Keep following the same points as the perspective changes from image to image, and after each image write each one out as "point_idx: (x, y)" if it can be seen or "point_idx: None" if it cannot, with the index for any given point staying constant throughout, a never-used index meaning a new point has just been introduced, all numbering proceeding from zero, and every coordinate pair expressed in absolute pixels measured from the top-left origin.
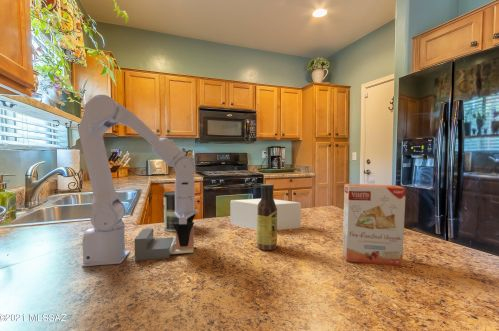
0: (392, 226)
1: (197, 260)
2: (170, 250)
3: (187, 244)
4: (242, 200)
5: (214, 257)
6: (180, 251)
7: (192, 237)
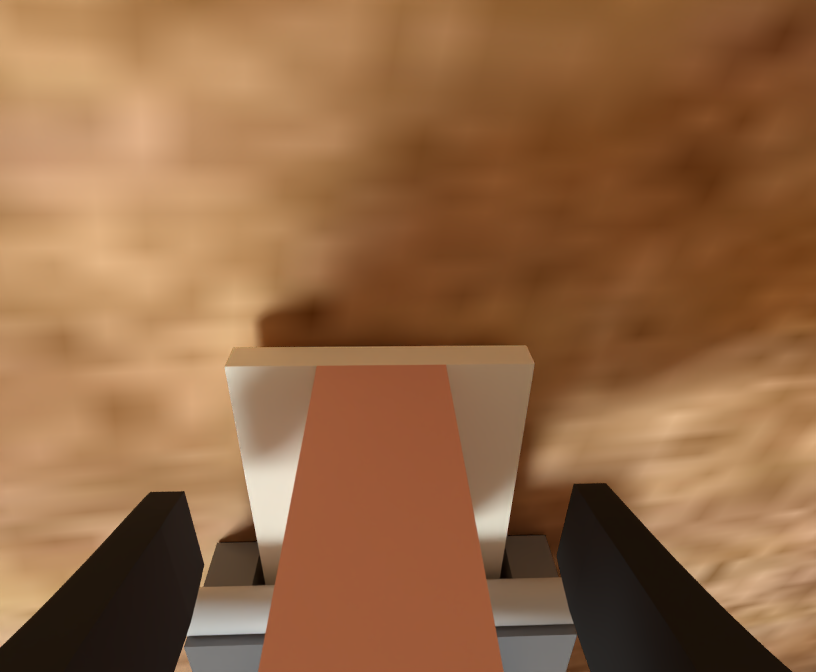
0: None
1: (735, 275)
2: None
3: (625, 506)
4: None
5: (767, 11)
6: (513, 490)
7: (470, 499)
